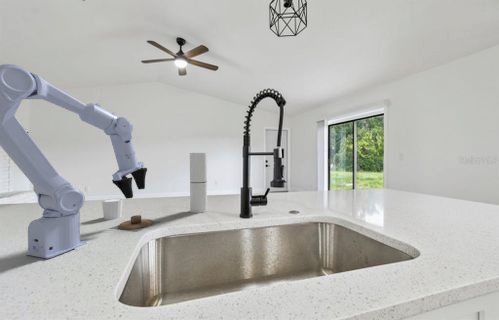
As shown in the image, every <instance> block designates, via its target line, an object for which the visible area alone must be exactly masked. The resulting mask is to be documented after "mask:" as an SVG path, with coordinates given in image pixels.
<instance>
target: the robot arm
mask: <svg viewBox="0 0 499 320" xmlns="http://www.w3.org/2000/svg"><path fill="white" fill-rule="evenodd" d="M24 100H44V101H46V102H47V103H50V104H53V105H55V106H57V107H61V108H63V109H65V110H67V111H69V112H73V114H77V115H78V116H79V119H80V120H81V121H82V122H83V123H86V124H89V125H90V126H93V127H95V128H97V129H99V130H102V131H103V132H104V133H105V135H107V136H109V138H110V142H111V145H112V149H113V152H114V155H115V159H116V163H117V166H118V169H117V170H116V172H114V173H113V174H112V175H111V176H112V178H113V179H112V184H114V185H115V186H116V187H117V188H118V189H119V190H120V191H121V193H122V194H123V197H124V198H125V199H133V198H134V191H133V180H134V182H135V185H136V187H137V189H138V190H145V188H146V175H147V171H148V168H147V167H145V164H144V161H138V159H137V155H136V150H135V147H134V143H133V136H132V132H133V129H134V128H133V127H134V126H133V124H131V122H130V121H129V120H128V118H126V117H123V116H120V117H118V116H117V114H116V113H115V112H111V111H109V110H106V109H105V108H103V107H102V105H101V104H99V103H93V102H90V103H84V102H82V101H81V100H79V99H77V98H76V97H74V96H72V95H71V94H68V93H67V92H65V91H63V90H61V89H60V88H58V87H57V86H55V85H53V84H51V83H49V82H47V81H46V80H45V79H44V78H42V76H40V75H39V74H36V73H35V72H34V73H33V72H29V71H28V70H27V69H25V68H24V67H22V66H19V65H16V64H13V63H11V64H10V63H5V64H4V63H3V64H0V148H1V149H2V150H3V151H4V152H5V153H6V154H7V156H8V157H9V158H10V159H11V160H12V162H13V163H14V164H15V165H16V166H17V167H18V168H19V170H20V171H21V172H22V173H23V174H24V176H25V178H27V179H28V181H29V182H31V184H32V185H33V187H32V188H33V192H34V193H35V195H36V196H37V203H38V205H39V207H40V208H41V209H43V212H42V216H41V217H39V218H37V219H36V218H35V219H33V220H31V222H30V223H29V225H28V226H27V251H26V253H25V255H27V256H32V257H37V258H42V259H43V258H44V259H46V260H47V259H52V258H54V257H57V256H59V255H61V254H64V253H68V252H69V251H72V250H74V249H77V248H79V247H81V246H85V245H88V244H89V241H86V240H81V223H80V222H81V218H80V216H81V214H80V210H81V208H82V207H83V206H84V204H85V200H86V199H85V194H84V193H83V191H81V190H80V189H78V188H76V187H74V186H73V185H72V184H71V182H69V181H68V180H67V179H66V178H64V177H62V176H61V175H60V174H59V172H58V171H57V170H56V169H55V167H54V166H53V164H52V163H51V162H50V161H49V159H48V158H47V157H46V156H45V154H44V153H43V151H42V150H41V149H40V147H39V146H38V144H37V143H36V142H35V141H34V139H33V138H32V137H31V136H30V134H29V133H28V131H27V130H26V129H25V128H24V126H23V125H22V123H21V122H20V121H19V120H18V118H17V117H16V112H17V111H18V109H19V107H20V105H21V103H22V102H23V101H24ZM128 175H131V177H128Z"/></svg>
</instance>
